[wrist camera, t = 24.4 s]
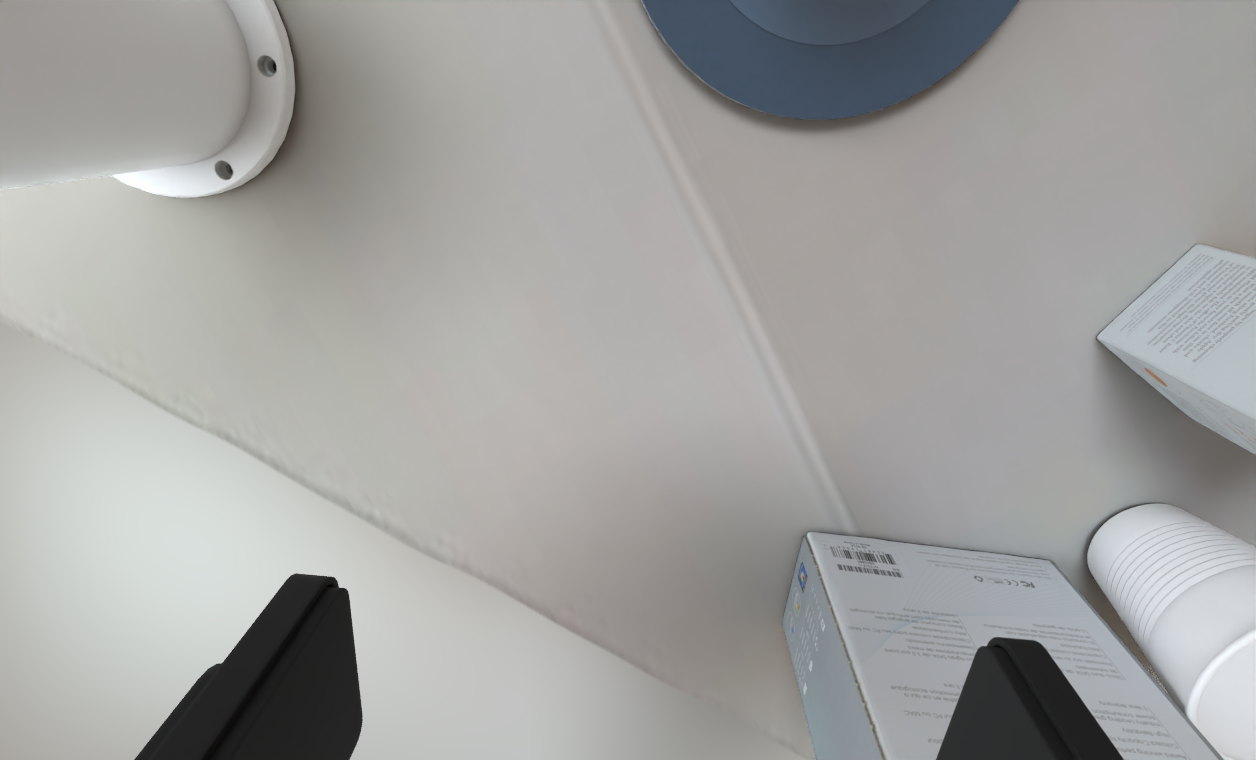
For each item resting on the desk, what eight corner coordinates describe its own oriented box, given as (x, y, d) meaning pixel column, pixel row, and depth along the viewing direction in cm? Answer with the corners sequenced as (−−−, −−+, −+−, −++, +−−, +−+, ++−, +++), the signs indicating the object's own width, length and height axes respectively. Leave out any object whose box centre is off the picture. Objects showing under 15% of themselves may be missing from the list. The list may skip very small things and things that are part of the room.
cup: (1034, 507, 38) (1175, 652, 28) (1216, 445, 37) (1435, 576, 27) (1067, 629, 42) (1203, 797, 32) (1235, 577, 40) (1436, 738, 30)
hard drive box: (778, 624, 43) (866, 1016, 25) (803, 526, 40) (925, 890, 22) (1015, 651, 43) (1282, 1063, 25) (1058, 556, 40) (1398, 944, 22)
